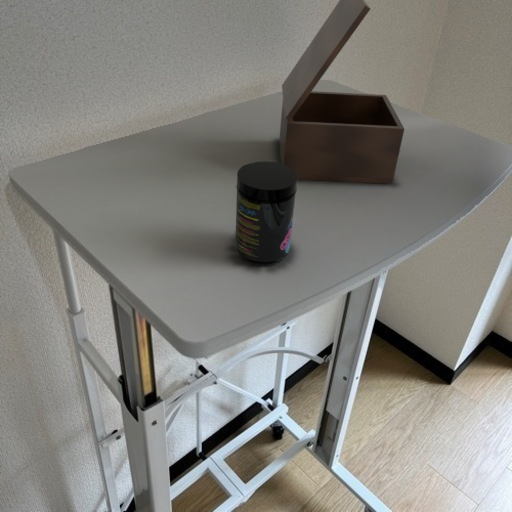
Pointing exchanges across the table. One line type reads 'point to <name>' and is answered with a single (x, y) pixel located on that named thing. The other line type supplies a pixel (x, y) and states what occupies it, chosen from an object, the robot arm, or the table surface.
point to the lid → (322, 53)
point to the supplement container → (264, 212)
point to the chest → (342, 138)
